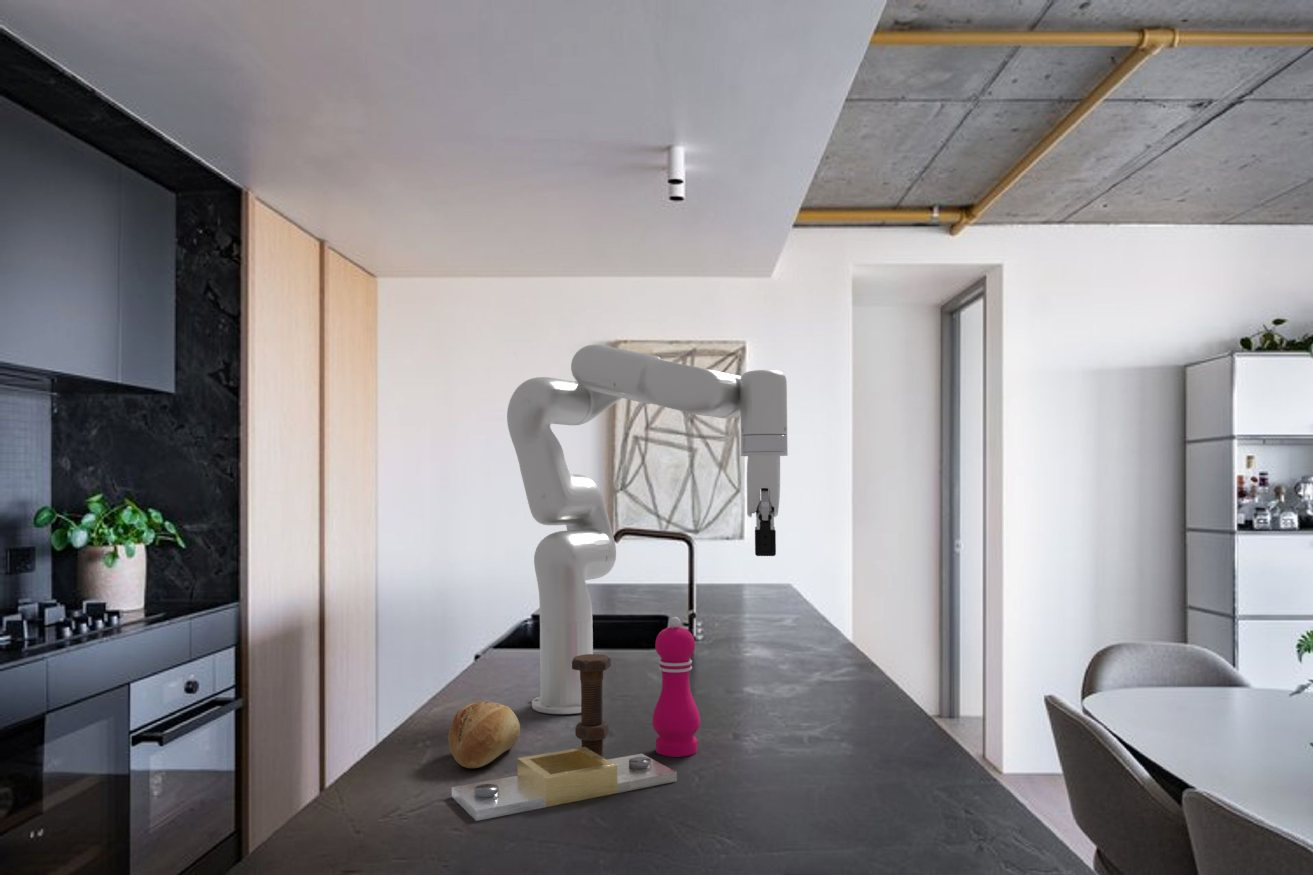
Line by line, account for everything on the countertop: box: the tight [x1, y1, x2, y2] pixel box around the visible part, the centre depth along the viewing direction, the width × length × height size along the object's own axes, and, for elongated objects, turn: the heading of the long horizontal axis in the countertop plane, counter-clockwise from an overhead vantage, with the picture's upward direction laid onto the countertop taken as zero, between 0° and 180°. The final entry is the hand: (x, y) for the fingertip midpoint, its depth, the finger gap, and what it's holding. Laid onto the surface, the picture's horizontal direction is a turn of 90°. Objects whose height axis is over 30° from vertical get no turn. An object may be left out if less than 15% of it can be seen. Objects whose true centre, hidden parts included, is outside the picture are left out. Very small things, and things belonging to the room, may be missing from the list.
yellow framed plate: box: [451, 746, 678, 822], centre depth 121 cm, size 10×28×4 cm, turn 119°
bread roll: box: [447, 701, 521, 769], centre depth 135 cm, size 10×15×8 cm, turn 172°
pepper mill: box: [651, 616, 701, 758], centre depth 138 cm, size 7×7×20 cm
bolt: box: [572, 653, 612, 758], centre depth 133 cm, size 6×5×15 cm
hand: (765, 553), depth 147 cm, fingers open, 9 cm apart
